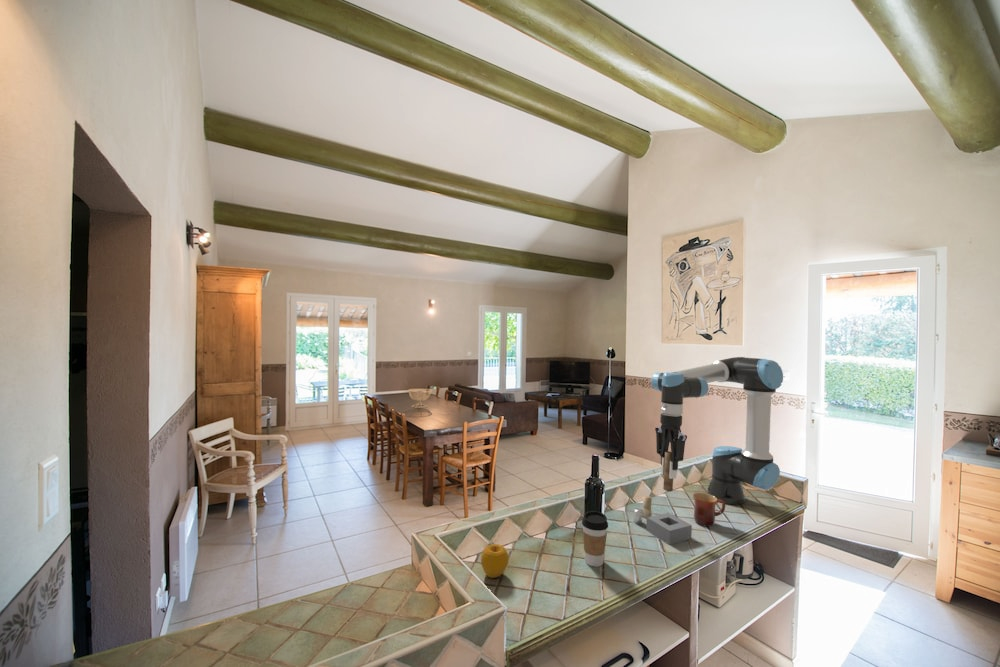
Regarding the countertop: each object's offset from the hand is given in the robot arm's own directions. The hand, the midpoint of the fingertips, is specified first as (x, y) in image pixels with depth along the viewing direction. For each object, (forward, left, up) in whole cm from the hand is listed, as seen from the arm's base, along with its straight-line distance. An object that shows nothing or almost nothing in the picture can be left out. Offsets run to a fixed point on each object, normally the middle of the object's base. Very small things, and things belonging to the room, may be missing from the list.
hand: (668, 476), depth 157 cm
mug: (-21, +1, -21) cm, 30 cm away
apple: (+71, -1, -21) cm, 74 cm away
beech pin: (-2, -12, -21) cm, 25 cm away
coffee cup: (+38, +5, -21) cm, 44 cm away
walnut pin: (0, 0, -5) cm, 5 cm away
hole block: (+1, +2, -21) cm, 21 cm away
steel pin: (+5, -10, -21) cm, 24 cm away
